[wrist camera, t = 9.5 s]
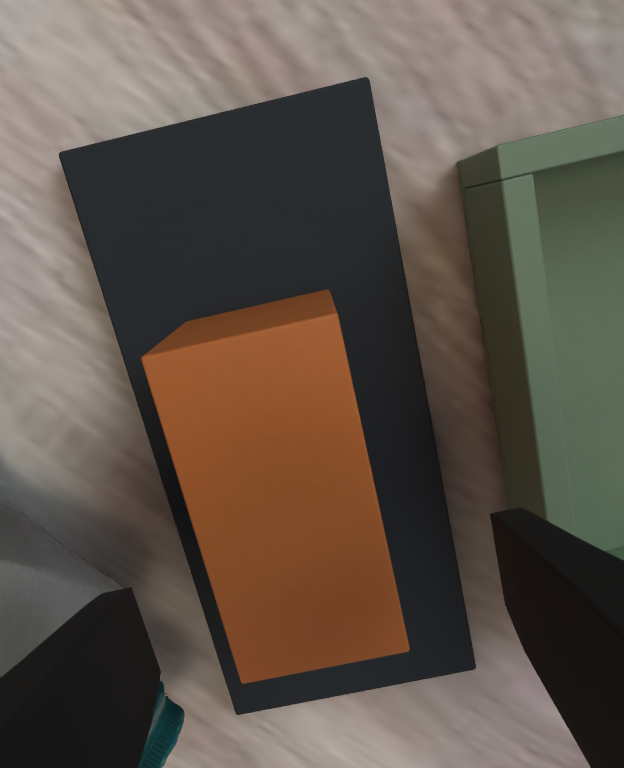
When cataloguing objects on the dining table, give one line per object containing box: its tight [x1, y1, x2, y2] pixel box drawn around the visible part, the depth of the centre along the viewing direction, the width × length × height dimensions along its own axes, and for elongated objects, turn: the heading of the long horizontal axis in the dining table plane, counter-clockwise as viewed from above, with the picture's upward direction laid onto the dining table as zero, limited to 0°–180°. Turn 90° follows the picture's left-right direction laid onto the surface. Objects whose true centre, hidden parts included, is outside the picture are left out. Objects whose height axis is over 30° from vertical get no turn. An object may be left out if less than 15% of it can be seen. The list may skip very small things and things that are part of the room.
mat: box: [59, 77, 476, 715], centre depth 19 cm, size 20×9×1 cm, turn 13°
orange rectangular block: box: [141, 290, 410, 684], centre depth 17 cm, size 9×4×5 cm, turn 13°
